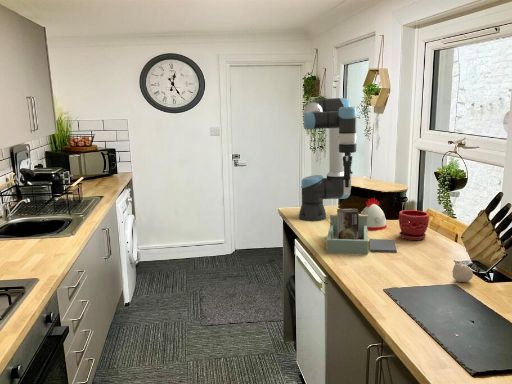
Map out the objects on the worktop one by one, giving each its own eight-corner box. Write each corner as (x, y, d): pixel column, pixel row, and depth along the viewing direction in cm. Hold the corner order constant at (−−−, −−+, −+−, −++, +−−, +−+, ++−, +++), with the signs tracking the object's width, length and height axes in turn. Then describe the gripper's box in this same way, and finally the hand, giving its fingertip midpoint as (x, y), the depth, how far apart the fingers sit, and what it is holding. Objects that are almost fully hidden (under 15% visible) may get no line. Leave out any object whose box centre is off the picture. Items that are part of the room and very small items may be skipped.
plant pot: (423, 243, 202) (424, 217, 200) (394, 239, 210) (394, 213, 208) (431, 236, 212) (433, 211, 210) (404, 232, 220) (404, 208, 218)
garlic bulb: (455, 276, 165) (456, 255, 163) (474, 280, 161) (475, 259, 159) (449, 282, 160) (450, 260, 158) (469, 286, 156) (470, 264, 154)
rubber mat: (369, 241, 209) (369, 238, 208) (394, 241, 206) (394, 239, 206) (369, 251, 194) (369, 249, 194) (396, 252, 192) (396, 250, 192)
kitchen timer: (353, 225, 235) (353, 197, 232) (374, 221, 241) (374, 194, 238) (370, 232, 223) (370, 202, 220) (392, 227, 228) (393, 198, 225)
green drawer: (330, 235, 219) (329, 214, 216) (367, 236, 215) (367, 214, 212) (326, 253, 195) (326, 228, 192) (368, 254, 191) (368, 230, 188)
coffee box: (357, 242, 207) (357, 208, 204) (359, 247, 201) (359, 211, 198) (337, 242, 208) (337, 208, 205) (338, 247, 202) (338, 211, 199)
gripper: (340, 140, 208) (340, 186, 212) (337, 146, 184) (337, 197, 188) (356, 140, 206) (356, 186, 211) (356, 145, 183) (355, 197, 187)
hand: (347, 191), depth 200 cm, fingers open, 13 cm apart
